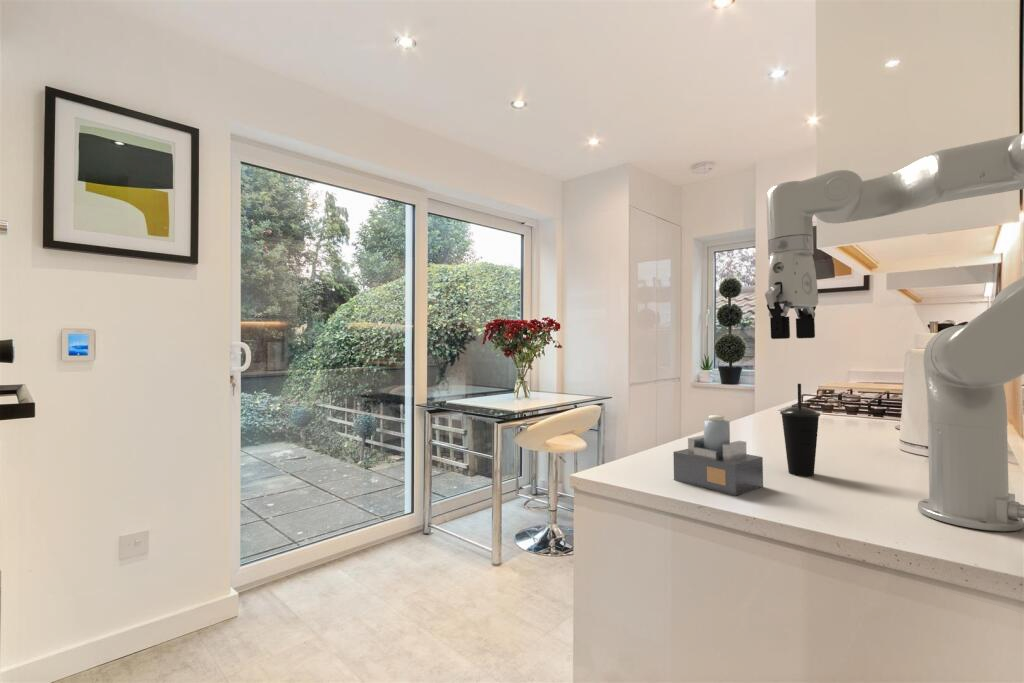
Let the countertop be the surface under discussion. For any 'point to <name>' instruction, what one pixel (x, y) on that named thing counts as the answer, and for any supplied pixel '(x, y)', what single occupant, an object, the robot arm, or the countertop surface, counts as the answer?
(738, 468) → the grey labeled bracket block
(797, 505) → the countertop surface
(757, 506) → the countertop surface
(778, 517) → the countertop surface
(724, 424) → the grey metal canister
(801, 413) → the drinking cup
